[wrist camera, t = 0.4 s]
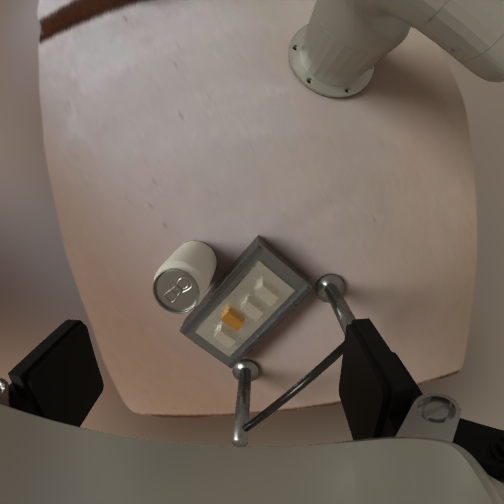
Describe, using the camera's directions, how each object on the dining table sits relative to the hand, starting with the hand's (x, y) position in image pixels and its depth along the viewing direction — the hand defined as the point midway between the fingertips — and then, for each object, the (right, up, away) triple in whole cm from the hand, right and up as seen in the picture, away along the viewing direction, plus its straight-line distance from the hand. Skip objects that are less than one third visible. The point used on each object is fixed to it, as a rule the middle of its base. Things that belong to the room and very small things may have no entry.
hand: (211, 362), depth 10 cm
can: (-7, +2, +37) cm, 38 cm away
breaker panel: (0, -4, +38) cm, 38 cm away
